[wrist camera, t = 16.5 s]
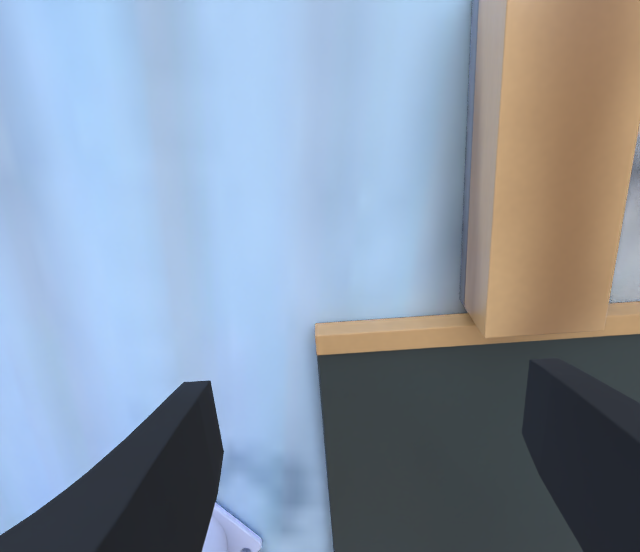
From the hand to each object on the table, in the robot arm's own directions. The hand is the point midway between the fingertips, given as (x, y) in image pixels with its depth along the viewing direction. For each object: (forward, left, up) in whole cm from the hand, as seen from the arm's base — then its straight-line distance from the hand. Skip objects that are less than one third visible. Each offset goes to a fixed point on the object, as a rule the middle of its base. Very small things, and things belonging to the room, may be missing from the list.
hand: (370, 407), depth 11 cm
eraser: (+8, -2, -10) cm, 13 cm away
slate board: (-3, -18, -10) cm, 21 cm away
